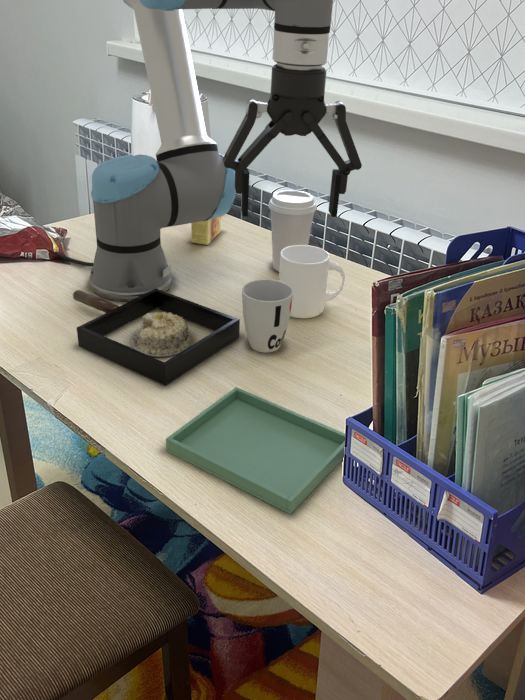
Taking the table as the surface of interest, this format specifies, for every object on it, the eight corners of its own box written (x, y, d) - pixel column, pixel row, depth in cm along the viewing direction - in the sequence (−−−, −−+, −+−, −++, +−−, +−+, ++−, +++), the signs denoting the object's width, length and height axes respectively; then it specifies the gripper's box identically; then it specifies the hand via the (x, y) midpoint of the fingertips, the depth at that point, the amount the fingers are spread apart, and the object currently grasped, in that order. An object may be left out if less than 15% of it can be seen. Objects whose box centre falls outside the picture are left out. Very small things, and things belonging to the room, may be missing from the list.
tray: (166, 450, 90) (165, 438, 89) (235, 398, 101) (236, 386, 100) (290, 514, 81) (291, 501, 80) (352, 449, 92) (353, 437, 91)
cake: (188, 328, 119) (190, 300, 116) (192, 359, 111) (195, 330, 108) (129, 326, 117) (130, 298, 114) (129, 358, 109) (130, 328, 106)
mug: (347, 318, 124) (354, 263, 118) (281, 320, 122) (285, 264, 116) (336, 296, 131) (341, 243, 125) (273, 298, 129) (276, 245, 124)
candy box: (204, 229, 158) (204, 162, 150) (222, 231, 157) (222, 164, 150) (190, 243, 151) (189, 173, 143) (209, 245, 150) (209, 176, 142)
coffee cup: (320, 265, 143) (326, 195, 136) (297, 281, 136) (302, 207, 129) (280, 254, 147) (284, 185, 140) (256, 268, 140) (259, 197, 133)
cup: (273, 362, 110) (276, 306, 104) (230, 347, 113) (231, 292, 108) (298, 341, 116) (302, 287, 110) (257, 328, 119) (259, 275, 114)
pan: (34, 326, 117) (31, 307, 115) (113, 289, 130) (112, 272, 128) (165, 386, 103) (164, 366, 101) (239, 337, 116) (240, 319, 114)
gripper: (209, 66, 90) (208, 222, 101) (395, 72, 93) (374, 222, 104) (206, 57, 96) (205, 204, 107) (381, 63, 99) (362, 205, 110)
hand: (288, 213), depth 105 cm, fingers open, 13 cm apart
